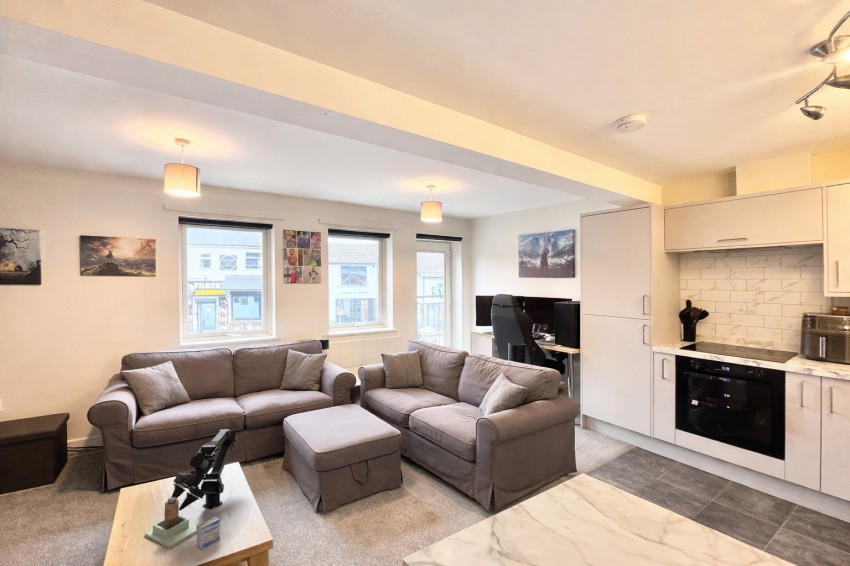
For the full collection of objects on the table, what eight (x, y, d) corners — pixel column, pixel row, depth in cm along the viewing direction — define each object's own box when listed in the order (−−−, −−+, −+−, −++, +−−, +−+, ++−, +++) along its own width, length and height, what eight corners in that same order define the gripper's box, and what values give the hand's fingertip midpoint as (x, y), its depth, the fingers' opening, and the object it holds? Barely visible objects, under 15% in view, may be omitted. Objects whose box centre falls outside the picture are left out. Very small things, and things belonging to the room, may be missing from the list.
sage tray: (202, 530, 176) (202, 520, 176) (169, 548, 164) (169, 538, 164) (177, 518, 184) (177, 509, 184) (144, 535, 172) (144, 526, 172)
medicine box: (201, 549, 164) (201, 528, 164) (195, 545, 166) (196, 525, 166) (220, 539, 170) (220, 519, 170) (214, 535, 173) (214, 515, 173)
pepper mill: (180, 527, 176) (181, 497, 176) (168, 533, 171) (169, 503, 171) (173, 523, 178) (174, 495, 178) (161, 530, 174) (162, 500, 174)
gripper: (178, 459, 186) (151, 492, 177) (197, 470, 175) (170, 506, 166) (195, 469, 192) (170, 502, 183) (215, 480, 182) (189, 516, 173)
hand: (174, 506), depth 176 cm, fingers open, 9 cm apart
